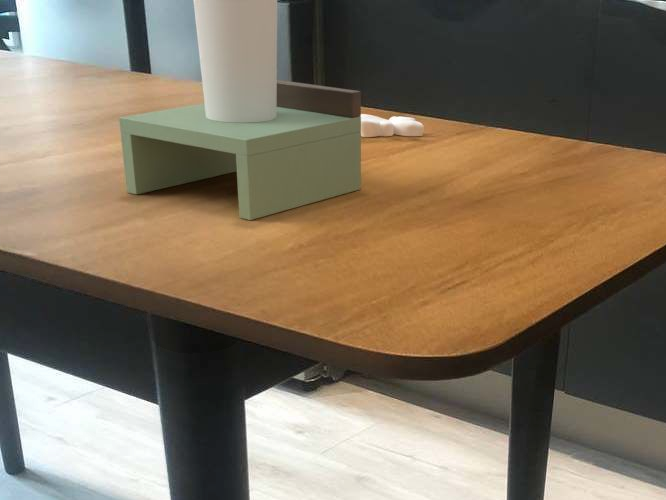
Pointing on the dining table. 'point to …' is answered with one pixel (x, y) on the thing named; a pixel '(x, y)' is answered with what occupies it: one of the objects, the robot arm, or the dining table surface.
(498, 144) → the dining table surface
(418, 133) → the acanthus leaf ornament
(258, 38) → the white cup
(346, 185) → the desk
